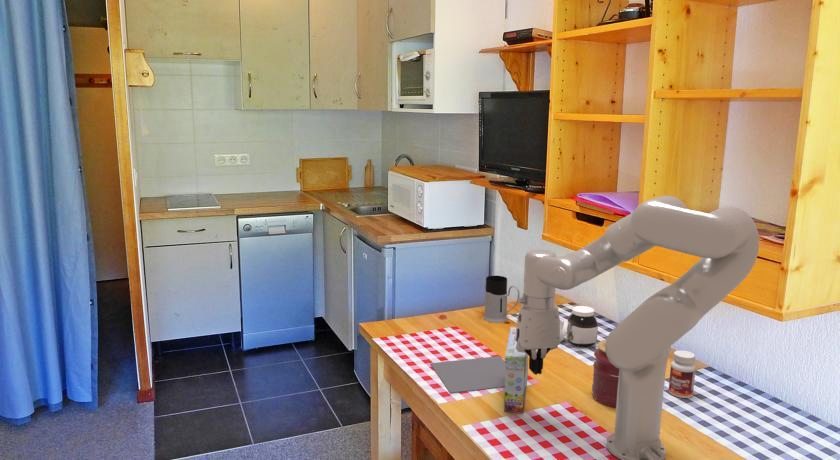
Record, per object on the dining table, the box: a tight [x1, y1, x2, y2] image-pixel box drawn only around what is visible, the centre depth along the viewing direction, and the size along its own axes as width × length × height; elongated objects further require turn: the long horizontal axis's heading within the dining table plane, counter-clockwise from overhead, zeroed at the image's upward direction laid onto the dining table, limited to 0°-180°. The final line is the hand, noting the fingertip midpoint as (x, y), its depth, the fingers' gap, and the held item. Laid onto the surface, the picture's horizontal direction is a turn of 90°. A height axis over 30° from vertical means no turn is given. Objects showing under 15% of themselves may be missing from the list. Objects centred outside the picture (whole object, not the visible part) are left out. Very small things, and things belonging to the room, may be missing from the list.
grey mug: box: [482, 275, 520, 324], centre depth 225 cm, size 9×14×15 cm, turn 46°
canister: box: [591, 338, 619, 408], centre depth 166 cm, size 13×13×18 cm
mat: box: [429, 355, 505, 394], centre depth 182 cm, size 20×22×1 cm
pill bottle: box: [668, 350, 697, 399], centre depth 169 cm, size 6×6×11 cm
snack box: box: [503, 326, 529, 414], centre depth 167 cm, size 21×6×15 cm, turn 168°
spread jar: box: [560, 305, 599, 348], centre depth 205 cm, size 12×11×12 cm
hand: (535, 372), depth 157 cm, fingers closed
